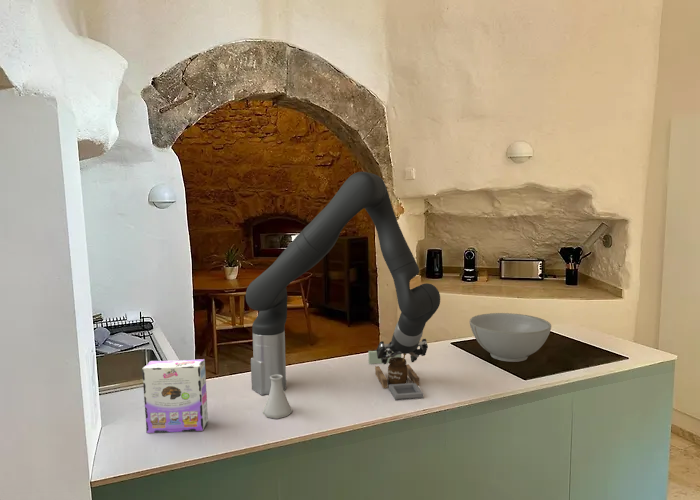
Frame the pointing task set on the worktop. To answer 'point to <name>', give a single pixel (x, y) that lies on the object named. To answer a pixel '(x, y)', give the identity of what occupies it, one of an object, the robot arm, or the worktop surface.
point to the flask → (277, 400)
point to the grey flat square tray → (405, 391)
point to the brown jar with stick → (397, 370)
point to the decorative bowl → (510, 334)
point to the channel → (383, 379)
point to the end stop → (374, 359)
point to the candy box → (175, 396)
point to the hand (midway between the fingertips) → (398, 360)
